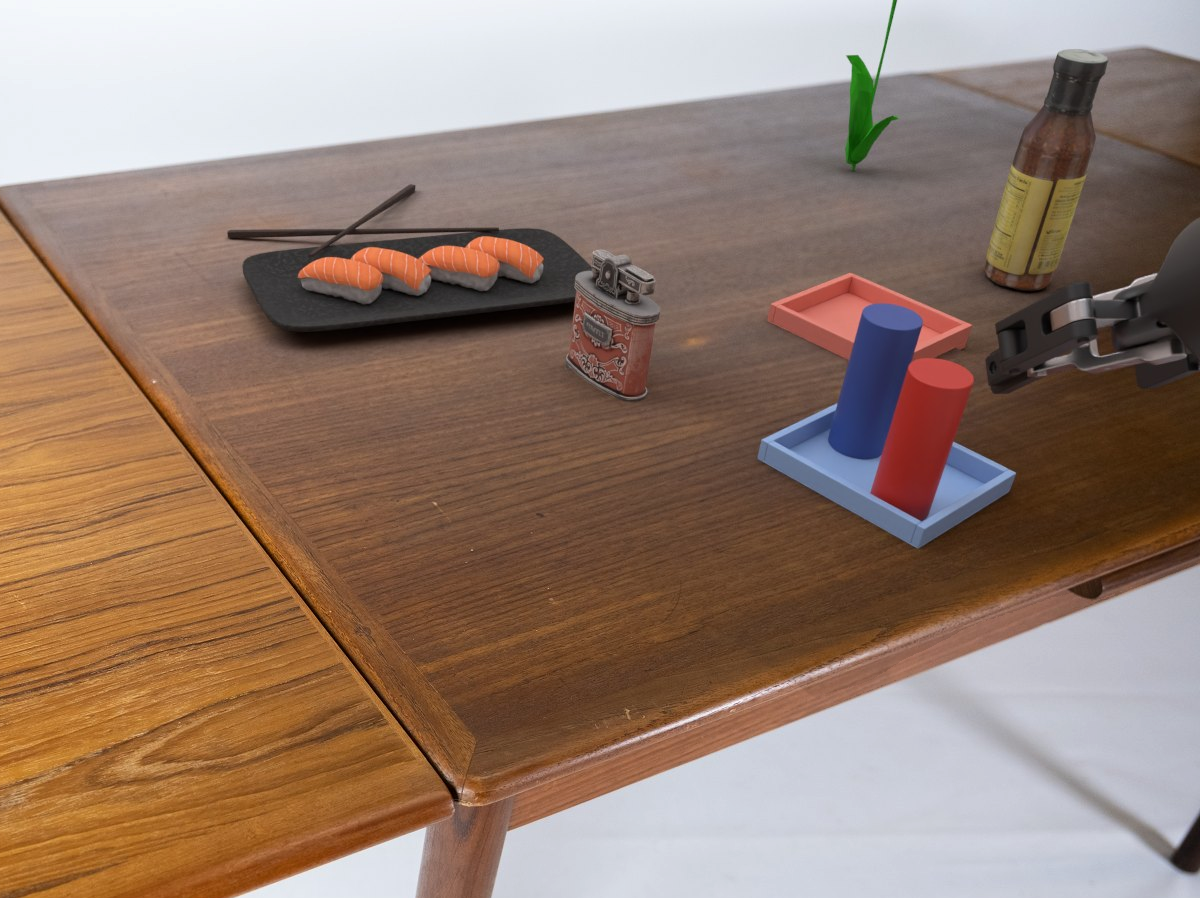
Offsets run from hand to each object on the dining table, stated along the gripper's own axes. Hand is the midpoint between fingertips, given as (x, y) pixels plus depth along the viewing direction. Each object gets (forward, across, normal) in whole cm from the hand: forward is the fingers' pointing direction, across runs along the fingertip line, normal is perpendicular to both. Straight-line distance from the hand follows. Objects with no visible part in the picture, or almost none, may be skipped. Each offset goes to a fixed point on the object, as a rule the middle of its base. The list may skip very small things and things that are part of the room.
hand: (1068, 373), depth 67 cm
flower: (+64, -24, -41) cm, 80 cm away
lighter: (+33, +15, -9) cm, 37 cm away
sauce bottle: (+45, -28, -21) cm, 57 cm away
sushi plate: (+50, +28, -26) cm, 63 cm away
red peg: (+19, 0, +4) cm, 19 cm away
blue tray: (+22, -1, +1) cm, 22 cm away
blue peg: (+24, 0, -2) cm, 25 cm away
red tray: (+37, -9, -14) cm, 41 cm away
